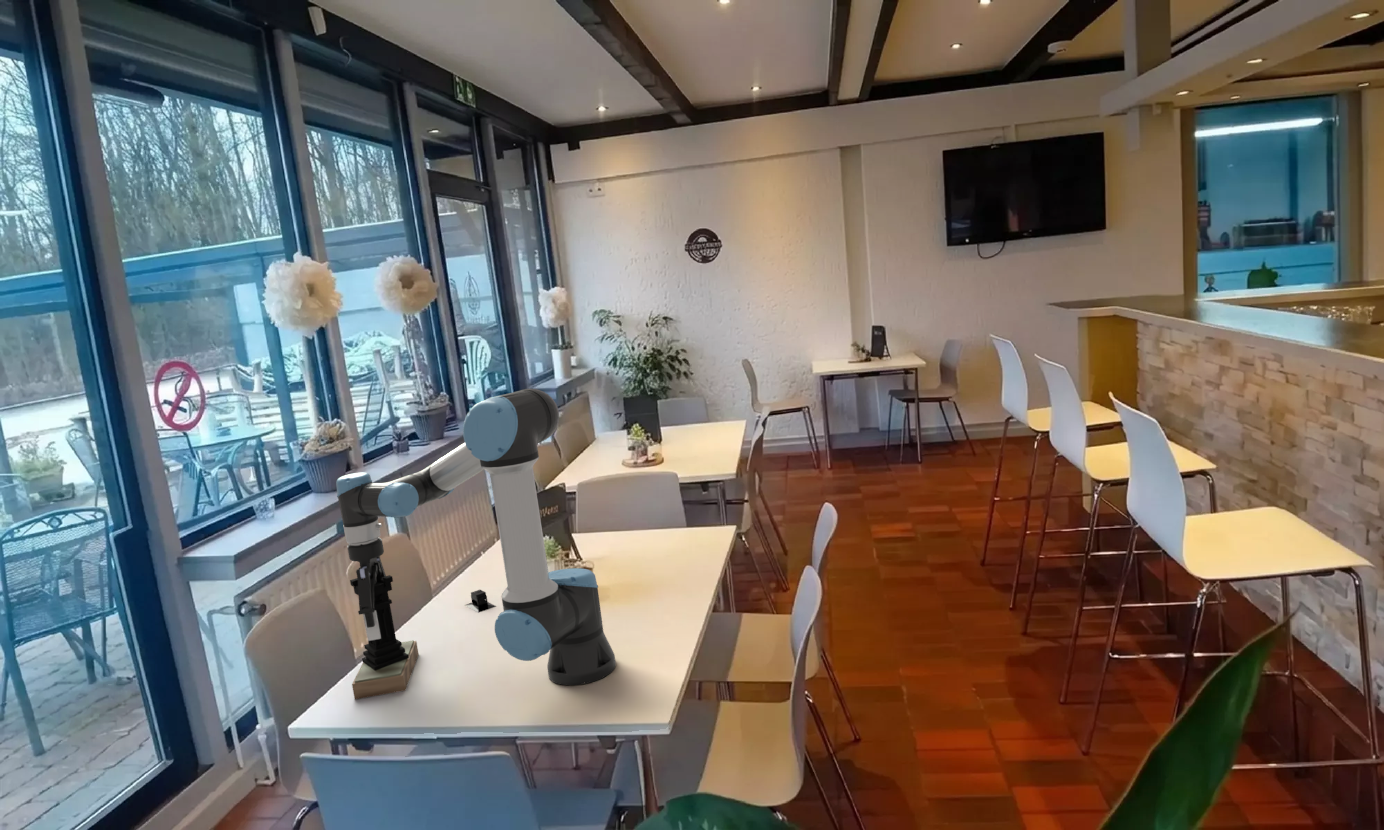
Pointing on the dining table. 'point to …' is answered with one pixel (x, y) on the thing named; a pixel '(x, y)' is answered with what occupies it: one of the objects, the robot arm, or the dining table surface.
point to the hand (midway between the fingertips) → (380, 628)
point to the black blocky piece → (479, 601)
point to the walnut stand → (386, 675)
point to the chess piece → (382, 628)
